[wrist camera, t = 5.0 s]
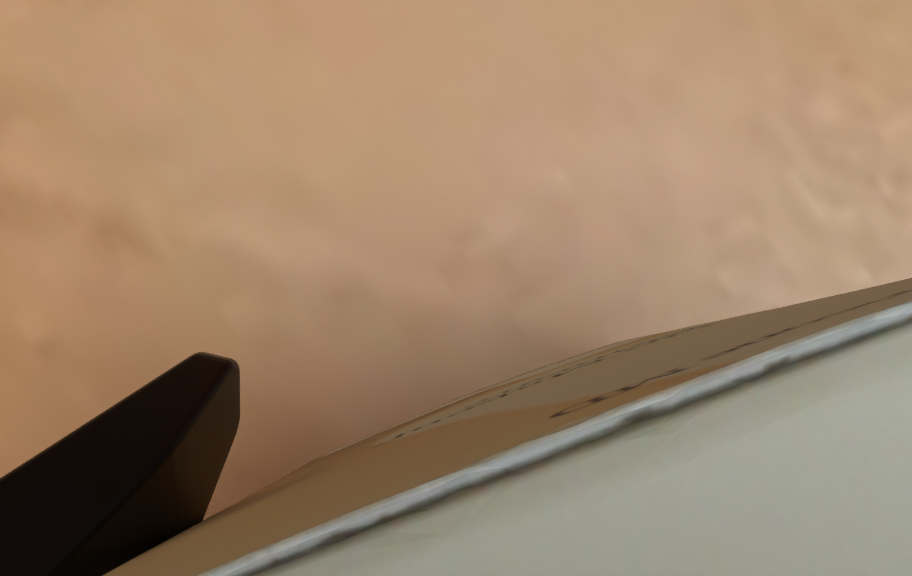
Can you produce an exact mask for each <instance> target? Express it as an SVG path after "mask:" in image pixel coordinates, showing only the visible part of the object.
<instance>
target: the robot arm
mask: <svg viewBox="0 0 912 576" xmlns="http://www.w3.org/2000/svg"><path fill="white" fill-rule="evenodd" d="M239 419H240V370H239V366H238V363H237V362H236V361H235V360H233V359H230V358H226V357H222V356H218V355H214V354H210V353H205V352H199V353H196V354H193V355H191V356H190V357H188V358H187V359H185V360H183V361H182V362H180V363H179V364H177V365H176V366H174V367H173V368H171V369H169V370H168V371H166V372H165V373H163V374H162V375H160V376H159V377H157V378H156V379H154V380H152V381H151V382H149V383H148V384H146V385H145V386H143V387H142V388H140V389H138V390H137V391H135V392H134V393H132V394H131V395H129V396H128V397H126V398H124V399H123V400H121V401H120V402H118V403H117V404H115V405H114V406H112V407H110V408H109V409H107V410H106V411H104V412H103V413H101V414H100V415H98V416H96V417H95V418H93V419H92V420H90V421H89V422H87V423H86V424H84V425H82V426H81V427H79V428H78V429H76V430H75V431H73V432H72V433H70V434H68V435H67V436H65V437H64V438H62V439H61V440H59V441H58V442H56V443H54V444H53V445H51V446H50V447H48V448H47V449H45V450H44V451H42V452H41V453H39V454H37V455H36V456H34V457H33V458H31V459H30V460H28V461H27V462H25V463H23V464H22V465H20V466H19V467H17V468H16V469H14V470H13V471H11V472H9V473H8V474H6V475H5V476H3V477H2V478H0V576H103V575H105V574H106V573H108V572H110V571H112V570H113V569H115V568H117V567H119V566H120V565H122V564H124V563H126V562H128V561H129V560H131V559H133V558H135V557H137V556H139V555H141V554H143V553H144V552H146V551H148V550H150V549H152V548H154V547H156V546H158V545H159V544H161V543H163V542H165V541H167V540H169V539H171V538H172V537H174V536H176V535H178V534H180V533H181V532H183V531H185V530H187V529H189V528H191V527H192V526H194V525H196V524H198V523H200V522H202V520H203V518H204V515H205V513H206V510H207V507H208V505H209V502H210V500H211V497H212V495H213V492H214V489H215V487H216V484H217V482H218V479H219V477H220V474H221V471H222V469H223V466H224V464H225V461H226V459H227V456H228V453H229V451H230V448H231V446H232V443H233V441H234V438H235V435H236V432H237V428H238V424H239Z"/></svg>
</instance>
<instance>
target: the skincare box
mask: <svg viewBox="0 0 912 576" xmlns="http://www.w3.org/2000/svg"><path fill="white" fill-rule="evenodd" d="M103 576H912V278H910V279H905V280H901V281H897V282H892V283H888V284H884V285H880V286H875V287H871V288H867V289H862V290H858V291H853V292H849V293H844V294H840V295H835V296H831V297H826V298H822V299H817V300H813V301H808V302H804V303H800V304H795V305H791V306H786V307H782V308H777V309H772V310H767V311H762V312H757V313H752V314H746V315H742V316H738V317H733V318H729V319H725V320H720V321H715V322H711V323H706V324H701V325H696V326H691V327H686V328H682V329H678V330H673V331H669V332H665V333H660V334H655V335H649V336H644V337H639V338H634V339H628V340H624V341H620V342H617V343H614V344H611V345H608V346H605V347H602V348H599V349H596V350H593V351H590V352H587V353H584V354H581V355H578V356H575V357H572V358H569V359H566V360H563V361H560V362H557V363H554V364H551V365H549V366H546V367H543V368H540V369H537V370H534V371H531V372H528V373H526V374H523V375H520V376H517V377H515V378H512V379H509V380H507V381H504V382H501V383H498V384H496V385H493V386H490V387H487V388H485V389H482V390H479V391H476V392H474V393H471V394H468V395H466V396H463V397H461V398H458V399H455V400H453V401H450V402H448V403H446V404H443V405H441V406H438V407H436V408H434V409H431V410H429V411H426V412H424V413H422V414H419V415H417V416H414V417H412V418H410V419H407V420H405V421H402V422H400V423H398V424H395V425H393V426H391V427H388V428H386V429H383V430H381V431H379V432H376V433H374V434H372V435H369V436H367V437H364V438H362V439H360V440H357V441H355V442H353V443H350V444H348V445H345V446H343V447H340V448H337V449H335V450H333V451H331V452H329V453H327V454H325V455H323V456H321V457H319V458H318V459H315V460H313V461H311V462H309V463H308V464H306V465H304V466H303V467H301V468H299V469H297V470H295V471H294V472H292V473H291V474H289V475H288V476H286V477H284V478H282V479H280V480H279V481H277V482H275V483H273V484H271V485H269V486H267V487H265V488H263V489H261V490H259V491H257V492H256V493H254V494H252V495H250V496H249V497H247V498H245V499H243V500H242V501H240V502H238V503H236V504H234V505H232V506H230V507H228V508H227V509H225V510H223V511H221V512H219V513H217V514H215V515H213V516H211V517H209V518H207V519H205V520H203V521H202V522H200V523H198V524H196V525H194V526H192V527H191V528H189V529H187V530H185V531H183V532H181V533H180V534H178V535H176V536H174V537H172V538H171V539H169V540H167V541H165V542H163V543H161V544H159V545H158V546H156V547H154V548H152V549H150V550H148V551H146V552H144V553H143V554H141V555H139V556H137V557H135V558H133V559H131V560H129V561H128V562H126V563H124V564H122V565H120V566H119V567H117V568H115V569H113V570H112V571H110V572H108V573H106V574H105V575H103Z"/></svg>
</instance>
